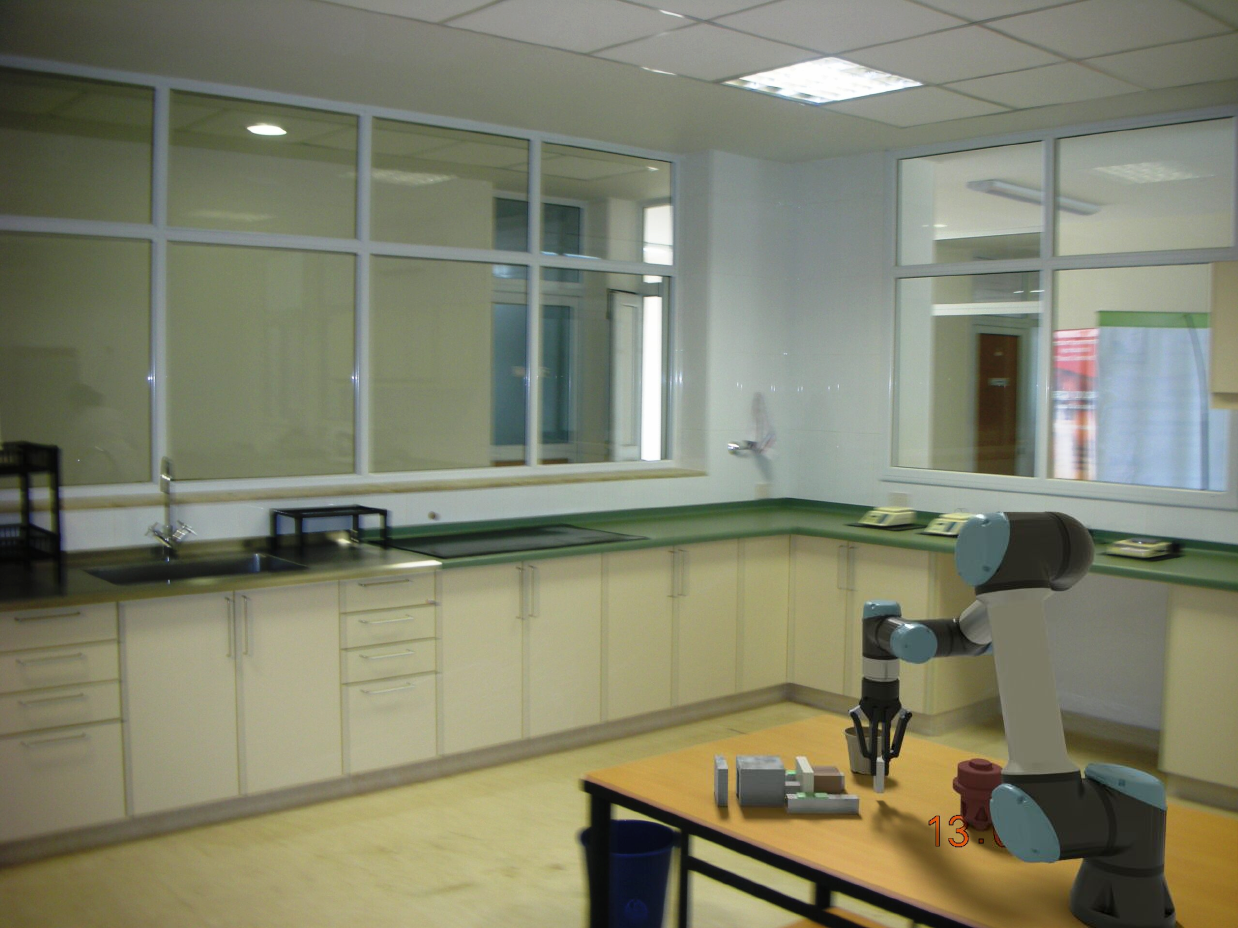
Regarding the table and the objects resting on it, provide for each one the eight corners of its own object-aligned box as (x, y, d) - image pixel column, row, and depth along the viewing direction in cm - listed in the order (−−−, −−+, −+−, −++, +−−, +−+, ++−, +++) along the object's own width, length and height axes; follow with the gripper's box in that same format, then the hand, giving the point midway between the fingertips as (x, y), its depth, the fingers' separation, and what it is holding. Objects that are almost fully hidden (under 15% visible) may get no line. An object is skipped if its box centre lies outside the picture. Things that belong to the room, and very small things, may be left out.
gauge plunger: (813, 806, 213) (813, 772, 212) (743, 806, 213) (743, 772, 212) (804, 789, 223) (805, 756, 222) (737, 788, 223) (738, 755, 222)
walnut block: (841, 804, 215) (841, 775, 215) (811, 804, 215) (811, 775, 215) (835, 794, 221) (836, 765, 221) (806, 793, 221) (807, 765, 221)
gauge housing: (858, 813, 210) (859, 775, 209) (719, 812, 210) (719, 774, 209) (842, 785, 226) (842, 750, 225) (712, 784, 226) (712, 749, 225)
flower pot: (833, 766, 238) (834, 728, 238) (867, 760, 242) (868, 723, 241) (860, 779, 229) (861, 740, 229) (895, 773, 233) (895, 734, 233)
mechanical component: (1002, 816, 209) (1010, 836, 199) (949, 812, 211) (954, 832, 201) (1003, 754, 208) (1012, 771, 198) (950, 751, 210) (956, 767, 200)
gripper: (907, 672, 220) (905, 784, 221) (844, 672, 220) (842, 784, 221) (917, 681, 213) (915, 797, 214) (852, 681, 213) (850, 797, 214)
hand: (878, 790), depth 217 cm, fingers closed
